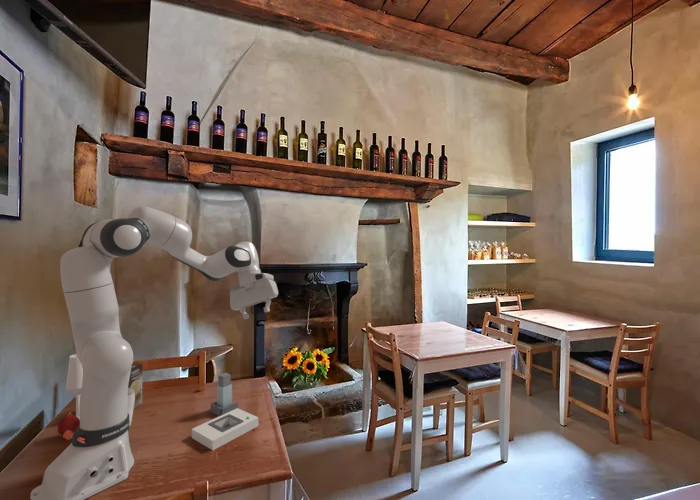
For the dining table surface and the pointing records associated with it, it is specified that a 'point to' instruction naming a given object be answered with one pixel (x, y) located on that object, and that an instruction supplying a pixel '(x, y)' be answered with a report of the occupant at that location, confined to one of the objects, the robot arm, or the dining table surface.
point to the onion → (68, 424)
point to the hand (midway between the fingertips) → (256, 315)
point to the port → (224, 428)
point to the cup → (131, 403)
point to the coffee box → (136, 382)
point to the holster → (219, 410)
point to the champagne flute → (75, 380)
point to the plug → (224, 390)
